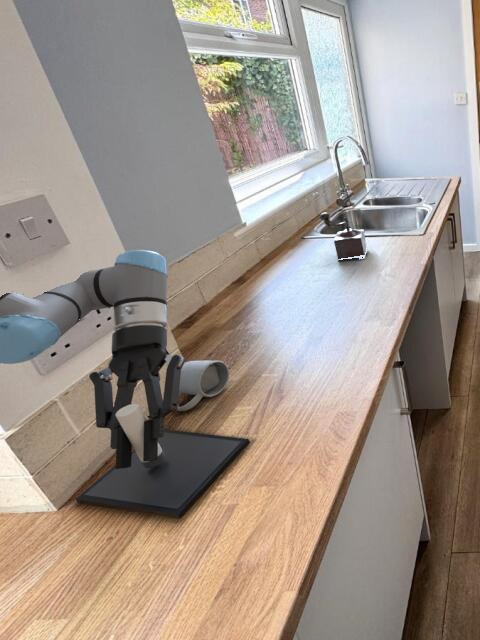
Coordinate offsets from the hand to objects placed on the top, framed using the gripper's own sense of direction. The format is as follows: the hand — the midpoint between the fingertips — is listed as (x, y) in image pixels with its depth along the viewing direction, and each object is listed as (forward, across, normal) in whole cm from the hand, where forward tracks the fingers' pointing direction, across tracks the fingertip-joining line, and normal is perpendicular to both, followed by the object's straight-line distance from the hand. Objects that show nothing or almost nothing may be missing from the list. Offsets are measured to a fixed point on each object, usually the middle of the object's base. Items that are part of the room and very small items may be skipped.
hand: (137, 463), depth 68 cm
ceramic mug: (-13, +2, +21) cm, 24 cm away
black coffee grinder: (-64, +33, +72) cm, 101 cm away
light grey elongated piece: (0, 0, +5) cm, 5 cm away
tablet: (+2, +2, +6) cm, 6 cm away
